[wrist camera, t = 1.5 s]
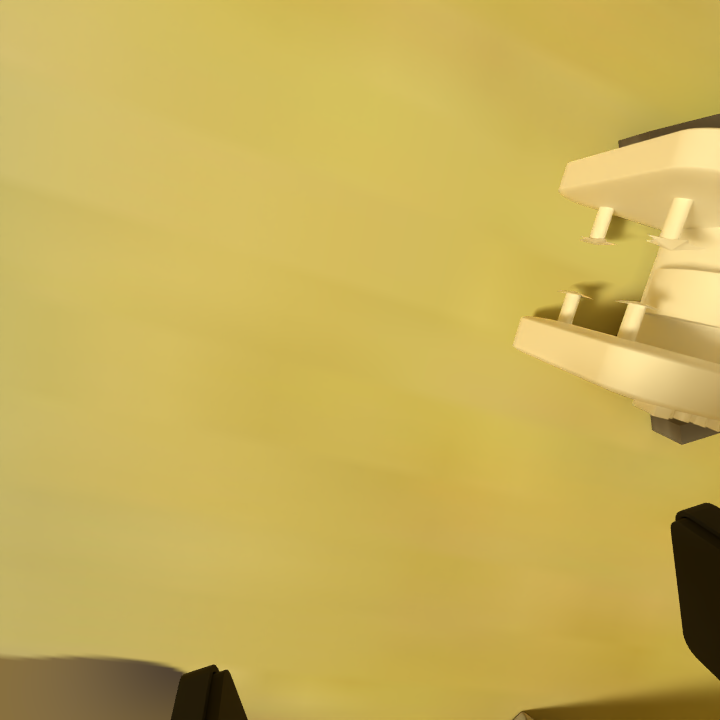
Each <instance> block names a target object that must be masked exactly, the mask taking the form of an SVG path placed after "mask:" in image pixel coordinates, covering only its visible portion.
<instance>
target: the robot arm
mask: <svg viewBox="0 0 720 720" xmlns="http://www.w3.org/2000/svg"><path fill="white" fill-rule="evenodd" d="M671 536H672V544H673V553H674V561H675V569H676V578H677V586H678V594H679V603H680V611H681V619H682V628H683V635H684V639H685V641H686V644H687V645H688V647H689V649H690V650H691V652H692V653H693V654H694V655H695V657H696V658H697V659H698V660H699V661H700V662H701V663H702V664H703V665H704V666H705V667H706V668H708V669H709V670H710V671H711V672H712V673H713V674H714V675H715V676H716V677H717V678H718V679H719V680H720V508H718V507H717V506H715V505H713V504H710V503H703V504H700V505H697V506H694V507H691V508H688V509H685V510H682V511H680V512H678V513H677V515H676V521H675V522H673V523H672V524H671ZM171 720H248V719H247V717H246V714H245V711H244V709H243V706H242V703H241V701H240V698H239V695H238V693H237V690H236V687H235V685H234V682H233V679H232V677H231V674H230V672H229V671H228V670H224V671H221V672H219V670H218V668H217V667H216V665H211V666H208V667H204V668H201V669H198V670H195V671H192V672H189V673H186V674H183V676H182V677H181V679H180V682H179V686H178V690H177V695H176V699H175V704H174V709H173V713H172V717H171Z"/></svg>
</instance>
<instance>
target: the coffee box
mask: <svg viewBox="0 0 720 720" xmlns="http://www.w3.org/2000/svg"><path fill="white" fill-rule="evenodd" d="M513 720H534V719H533V718H531V717H530V716H529V715H527V714H526V713H525V712H521V713H520V714H519V715H518V716H517V717H515V718H514V719H513Z"/></svg>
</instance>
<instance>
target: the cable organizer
mask: <svg viewBox="0 0 720 720" xmlns="http://www.w3.org/2000/svg"><path fill="white" fill-rule="evenodd" d="M559 193H560V194H561V195H562V196H564V197H565V198H567V199H569V200H571V201H573V202H575V203H578V204H581V205H583V206H587V207H590V208H593V209H596V210H598V213H597V216H596V219H595V222H594V225H593V228H592V231H591V234H590V237H589V238H587V237H583V238H584V239H582V240H581V241H584V242H588V243H592V244H596V245H617V244H613V243H609V242H606V239H605V236H606V233H607V230H608V227H609V224H610V221H611V218H612V215H615V216H618V217H621V218H624V219H627V220H631V221H634V222H637V223H640V224H643V225H646V226H649V227H653V228H656V229H659V230H662V231H661V233H660V236H659V237H657V236H652V235H649V236H650V237H652V238H653V239H655V240H646V241H648V242H651V243H653V244H656V245H658V246H660V247H659V250H658V253H657V256H656V259H655V262H654V264H653V267H652V270H651V273H650V276H649V278H648V281H647V284H646V287H645V290H644V293H643V295H642V298H641V301H640V302H638V301H625V300H619V301H617V302H622V303H626V304H628V306H627V309H626V312H625V314H624V317H623V320H622V323H621V326H620V329H619V332H618V334H617V336H613V335H610V334H606V333H602V332H598V331H595V330H591V329H587V328H583V327H580V326H576V325H572V322H573V319H574V316H575V313H576V310H577V307H578V304H579V301H580V298H581V297H585V298H590V297H587V296H585V295H582V294H580V293H577V292H575V291H563V290H559V291H558V292H563V293H566V296H565V299H564V302H563V306H562V309H561V312H560V315H559V318H558V321H556V320H552V319H546V318H540V317H531V316H525V317H522V318H521V320H520V323H519V326H518V330H517V333H516V336H515V339H514V342H513V346H514V347H515V348H516V349H518V350H520V351H521V352H524V353H526V354H528V355H530V356H532V357H535V358H537V359H539V360H542V361H544V362H546V363H548V364H551V365H553V366H555V367H557V368H560V369H562V370H564V371H566V372H569V373H571V374H573V375H575V376H578V377H580V378H582V379H585V380H587V381H589V382H591V383H594V384H596V385H598V386H600V387H603V388H605V389H607V390H610V391H612V392H615V393H617V394H620V395H622V396H625V397H628V398H631V399H634V402H633V404H632V405H633V406H635V407H637V408H640V409H642V410H644V411H646V412H648V413H651V414H650V415H652V416H655V417H659V418H664V419H669V418H670V419H672V418H675V419H678V420H680V421H683V422H687V423H689V422H692V423H693V424H696V425H699V426H701V427H704V428H705V427H708V428H710V429H712V430H715V431H717V432H720V128H692V129H686V130H681V131H678V132H674V133H670V134H667V135H663V136H660V137H656V138H653V139H649V140H646V141H642V142H639V143H635V144H631V145H628V146H624V147H621V148H617V149H614V150H610V151H607V152H603V153H600V154H596V155H593V156H589V157H585V158H582V159H578V160H575V161H571V162H569V163H568V164H567V165H566V168H565V171H564V174H563V178H562V181H561V184H560V187H559ZM647 235H648V234H647ZM581 237H582V236H581ZM590 299H592V298H590Z"/></svg>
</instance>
